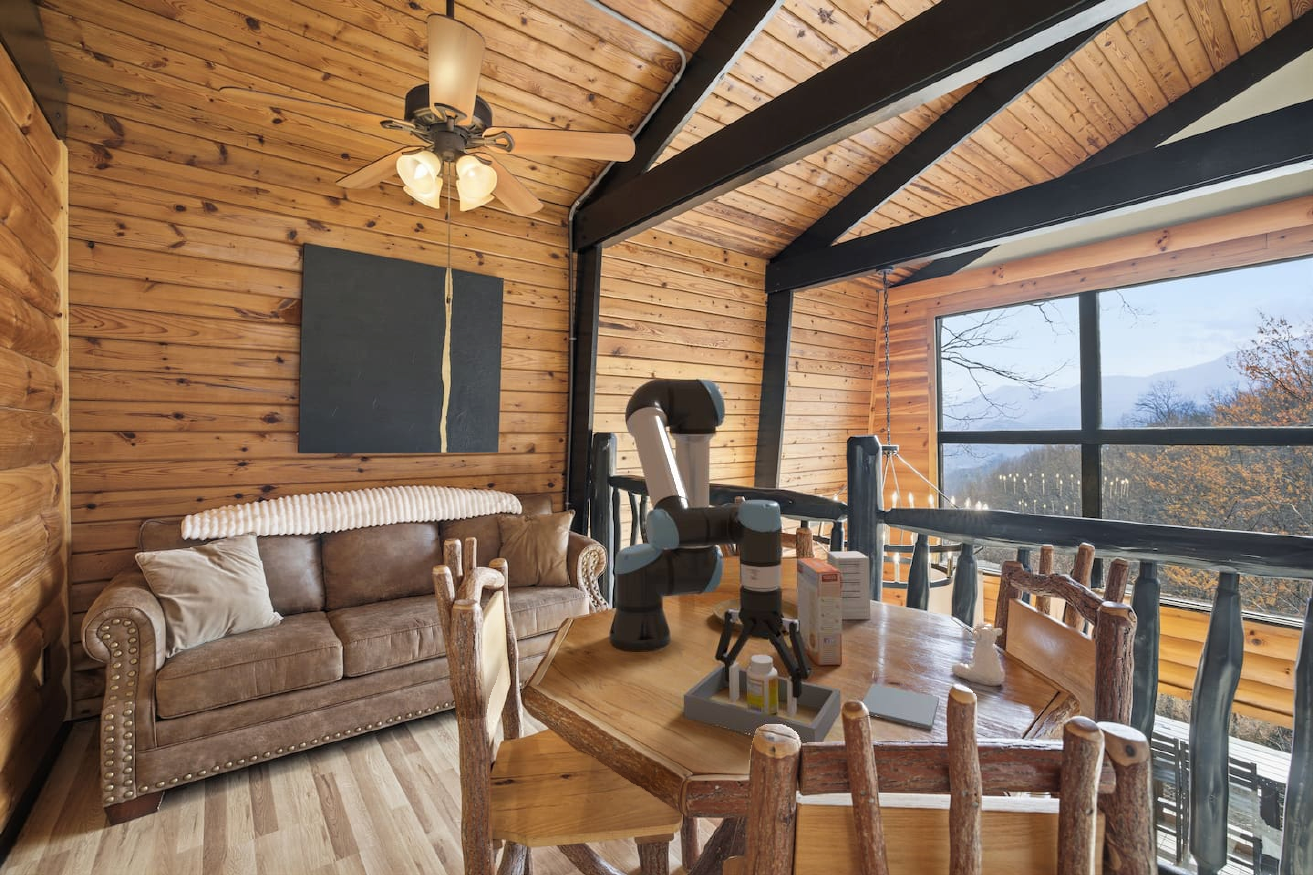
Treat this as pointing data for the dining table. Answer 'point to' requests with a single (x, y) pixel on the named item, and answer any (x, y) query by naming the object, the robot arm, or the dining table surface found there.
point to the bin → (750, 720)
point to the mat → (901, 706)
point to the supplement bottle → (762, 685)
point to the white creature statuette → (983, 658)
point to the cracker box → (820, 610)
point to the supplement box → (853, 583)
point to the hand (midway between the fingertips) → (762, 706)
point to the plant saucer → (787, 608)
